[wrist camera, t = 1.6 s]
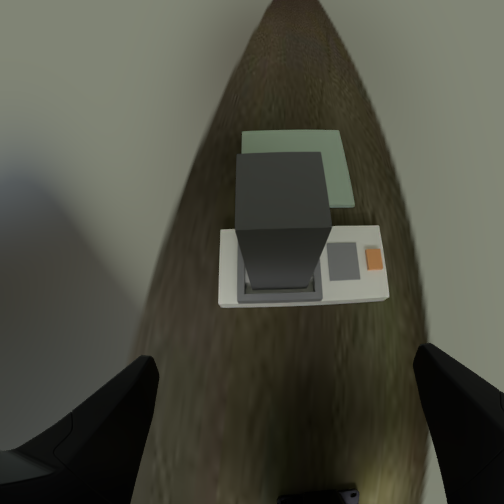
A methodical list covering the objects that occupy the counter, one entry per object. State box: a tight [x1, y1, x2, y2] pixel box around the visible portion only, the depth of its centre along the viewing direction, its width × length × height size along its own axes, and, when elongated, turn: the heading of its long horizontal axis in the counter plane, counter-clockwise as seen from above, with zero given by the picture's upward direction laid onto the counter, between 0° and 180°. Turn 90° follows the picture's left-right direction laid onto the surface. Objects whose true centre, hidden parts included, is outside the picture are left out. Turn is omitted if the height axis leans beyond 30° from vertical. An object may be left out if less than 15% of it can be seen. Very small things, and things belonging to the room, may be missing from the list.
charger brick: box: [235, 152, 332, 290], centre depth 18 cm, size 4×4×10 cm
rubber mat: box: [242, 130, 355, 208], centre depth 27 cm, size 9×10×1 cm
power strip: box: [218, 225, 389, 308], centre depth 23 cm, size 6×13×2 cm, turn 90°
